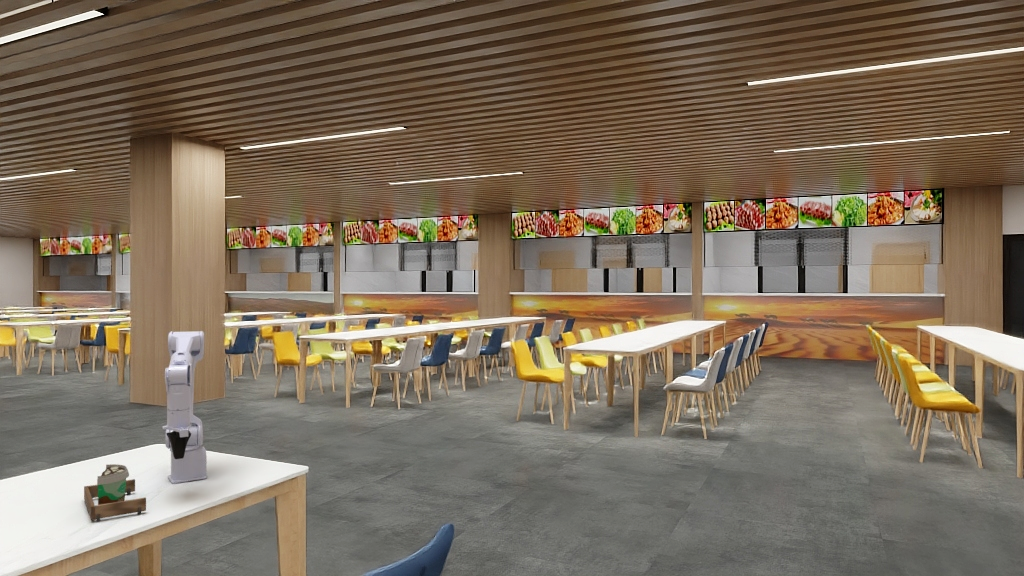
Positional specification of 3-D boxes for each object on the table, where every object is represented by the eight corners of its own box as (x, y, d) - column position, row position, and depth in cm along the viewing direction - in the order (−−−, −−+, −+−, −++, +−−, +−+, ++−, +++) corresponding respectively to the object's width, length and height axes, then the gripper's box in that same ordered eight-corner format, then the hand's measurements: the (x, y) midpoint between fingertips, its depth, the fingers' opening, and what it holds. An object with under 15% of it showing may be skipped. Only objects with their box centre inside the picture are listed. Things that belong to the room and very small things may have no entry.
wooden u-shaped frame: (134, 492, 195) (134, 478, 195) (146, 513, 178) (146, 498, 178) (83, 499, 188) (83, 486, 188) (91, 522, 171) (91, 507, 171)
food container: (125, 513, 178) (124, 474, 178) (97, 516, 176) (97, 476, 175) (132, 499, 189) (132, 462, 189) (106, 501, 187) (106, 464, 187)
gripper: (157, 406, 195) (157, 454, 195) (167, 415, 183) (167, 466, 184) (185, 403, 199) (185, 451, 200) (196, 412, 188) (196, 462, 188)
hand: (178, 458), depth 192 cm, fingers closed
